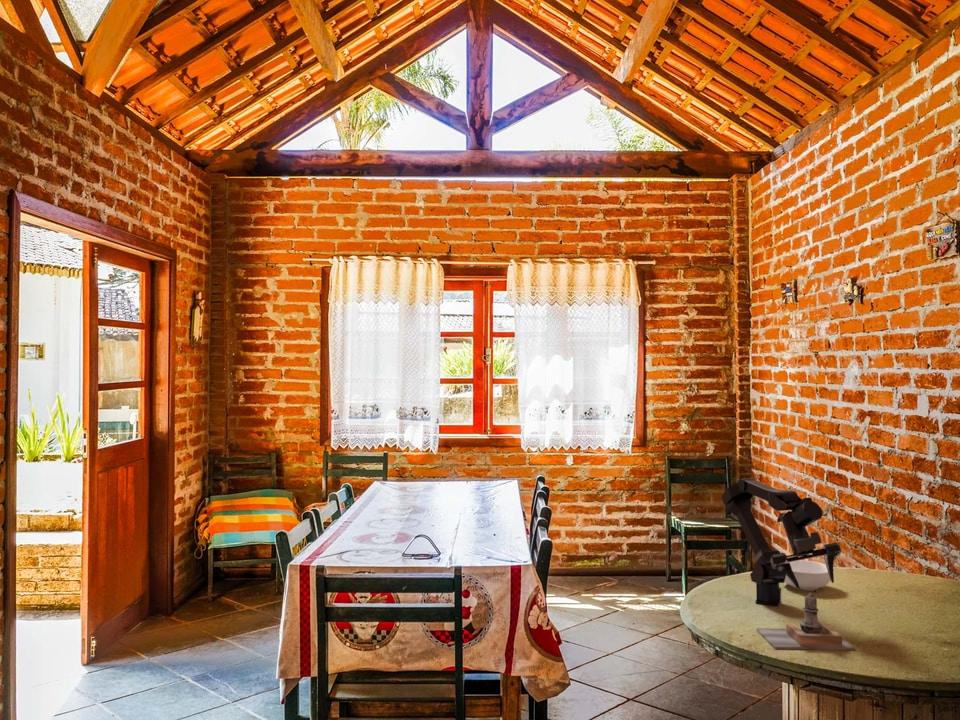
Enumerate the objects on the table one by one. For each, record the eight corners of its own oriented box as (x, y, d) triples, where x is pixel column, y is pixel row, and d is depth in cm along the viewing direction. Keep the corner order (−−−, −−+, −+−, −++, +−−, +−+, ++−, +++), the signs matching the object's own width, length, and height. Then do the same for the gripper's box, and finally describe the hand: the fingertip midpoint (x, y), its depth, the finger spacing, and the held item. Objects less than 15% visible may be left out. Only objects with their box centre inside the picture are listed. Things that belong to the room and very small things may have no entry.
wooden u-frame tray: (756, 630, 201) (756, 619, 201) (831, 631, 200) (831, 620, 200) (774, 648, 187) (774, 636, 187) (855, 650, 186) (854, 637, 186)
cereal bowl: (765, 583, 249) (765, 562, 249) (802, 578, 255) (802, 557, 255) (806, 596, 233) (805, 574, 233) (844, 591, 240) (843, 569, 240)
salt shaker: (820, 643, 190) (819, 596, 190) (796, 638, 193) (795, 592, 194) (826, 636, 194) (825, 590, 195) (802, 632, 198) (801, 587, 198)
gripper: (765, 531, 209) (784, 586, 201) (833, 517, 206) (855, 572, 198) (763, 541, 219) (781, 594, 211) (828, 528, 216) (848, 581, 208)
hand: (816, 585), depth 207 cm, fingers open, 9 cm apart
